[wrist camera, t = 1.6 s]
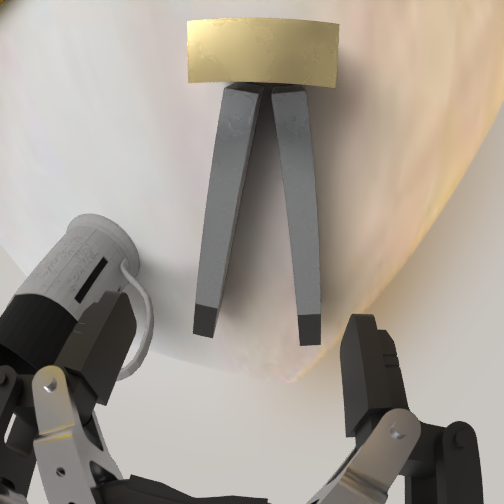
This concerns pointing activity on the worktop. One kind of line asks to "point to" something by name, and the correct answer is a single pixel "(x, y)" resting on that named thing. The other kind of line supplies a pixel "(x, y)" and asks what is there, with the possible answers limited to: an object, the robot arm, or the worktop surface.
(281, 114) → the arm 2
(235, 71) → the tan framed block
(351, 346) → the robot arm
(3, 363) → the glass holder
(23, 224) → the worktop surface
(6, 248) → the worktop surface
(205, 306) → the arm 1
